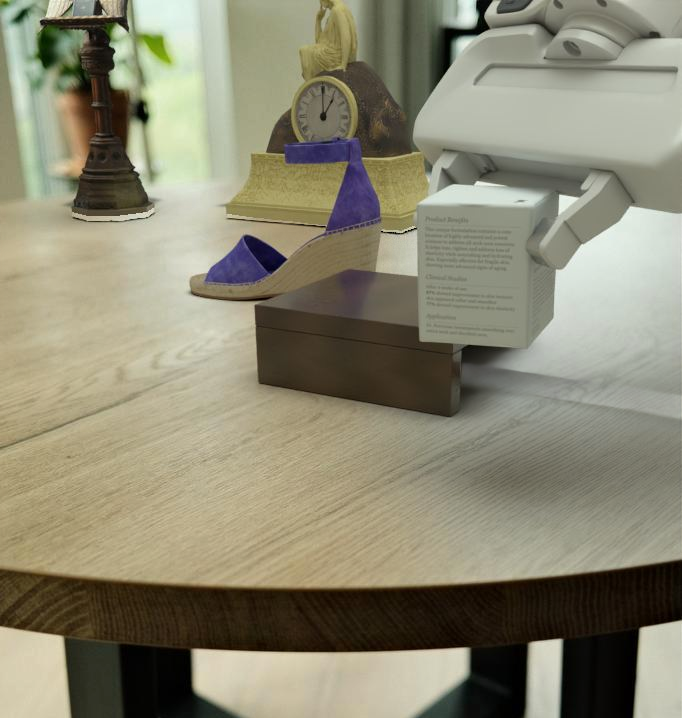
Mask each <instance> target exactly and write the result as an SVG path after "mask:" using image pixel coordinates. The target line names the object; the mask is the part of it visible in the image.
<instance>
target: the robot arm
mask: <svg viewBox="0 0 682 718" xmlns="http://www.w3.org/2000/svg"><path fill="white" fill-rule="evenodd" d="M484 20H485V22H486V24H487V26H488V27H489V29H488V30H485V31H484V32H482V33H480V34H479V35H477V36H476V37H475V38H473V39H472V40H470V42H469V43H468V44H467V45H466V46H465V47H464V48H463V49H462V50H461V52H460V53H459V54H458V56H456V58H455V59H454V60H453V62H452V64H451V65H450V66H449V68H448V69H447V71H446V72H445V74H444V75H443V76H442V78H441V79H440V81H439V82H438V83H437V85H436V86H435V88H434V89H433V91H431V93H430V95H429V97H428V98H427V100H426V101H425V103H424V105H423V106H422V108H421V109H420V111H419V112H418V114H417V116H416V118H415V121H414V125H413V132H412V142H413V144H414V145H415V147H416V148H417V149H418V151H419V152H421V153H422V154H423V155H424V159H426V161H427V162H428V163H429V164H430V165H431V166H432V168H431V174H430V179H429V188H428V193H427V195H428V196H427V197H426V198H428V197H430V196H432V195H434V194H435V193H437V192H439V191H441V190H442V189H444V188H446V187H448V186H450V185H453V184H458V185H476V183H477V182H478V183H479V182H480V183H486V184H491V185H496V186H515V187H550V188H556V189H557V190H556V191H557V192H558V194H559V196H565V197H572V198H577V199H576V200H575V201H574V202H573V203H572V204H570V205H569V206H568V207H567V208H565V210H564V211H562V212H561V213H560V214H558V216H557V217H556V218H555V219H550V218H543V219H542V220H541V222H540V223H539V224H538V226H537V227H536V229H535V233H534V234H532V235H531V236H530V237H529V238H528V240H527V242H526V251H527V252H528V254H529V255H530V256H532V257H533V258H534V261H535V262H536V264H539V265H542V266H546V267H549V268H553V269H556V271H561V270H564V269H565V268H566V266H568V264H569V263H570V261H571V260H572V258H573V257H574V255H575V254H576V253H577V251H578V250H579V249H580V247H581V246H582V245H585V244H587V243H588V242H590V241H591V240H593V239H595V238H596V237H598V236H599V235H600V234H602V233H604V232H605V231H607V230H609V229H610V228H611V227H613V226H615V225H616V224H618V223H619V222H620V221H621V220H622V218H623V217H624V216H625V214H627V211H628V210H629V209H630V207H633V208H640V209H643V210H644V209H646V210H651V211H657V212H663V213H669V214H675V215H676V214H677V215H681V214H682V0H492V2H491V3H490V4H489V6H488V7H487V9H486V11H485V12H484ZM413 224H414V226H415V227H416V228H417V212H416V213H415V214H414V217H413Z"/></svg>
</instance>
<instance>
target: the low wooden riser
mask: <svg viewBox="0 0 682 718" xmlns="http://www.w3.org/2000/svg"><path fill="white" fill-rule="evenodd" d="M253 305H254V307H253V309H254V324H255V346H256V348H255V349H256V367H257V382H258V383H259V384H265V385H270V386H276V387H281V388H286V389H293V390H297V391H298V390H299V391H304V392H308V393H309V392H310V393H313V394H314V393H315V394H320V395H326V396H333V397H337V398H343V399H349V400H354V401H359V402H365V403H366V402H367V403H372V404H377V405H383V406H388V407H394V408H400V409H404V410H410V411H416V412H423V413H428V414H432V415H438V416H445V417H452V416H453V415H454V414H456V413H457V412H458V411H460V404H461V403H460V401H461V379H462V378H461V375H462V349H464V348H465V347H467V346H469V344H455V343H440V342H421V341H420V340H419V313H418V275H407V274H398V273H390V272H380V271H375V272H372V271H363V270H354V269H348V270H345V271H343V272H340V273H337V274H335V275H332V276H329V277H327V278H324V279H321V280H319V281H316V282H313V283H311V284H308V285H306V286H303V287H300V288H298V289H295V290H292V291H290V292H287V293H284V294H282V295H279V296H274V297H270V298H268V299H266V300H263V301H260V302H258V303H255V304H253Z"/></svg>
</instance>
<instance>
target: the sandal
mask: <svg viewBox="0 0 682 718" xmlns="http://www.w3.org/2000/svg"><path fill="white" fill-rule="evenodd" d="M324 141H327V142H324ZM284 153H285V162H286V164H335V163H336V162H348V165H347V168H346V171H345V175H344V178H343V181H342V184H341V187H340V190H339V193H338V195H337V198H336V201H335V204H334V207H333V210H332V213H331V216H330V218H329V221H328V224H327V227H325V230H324V231H323V233H322V234H318V235H317V236H315V237H313V238H312V239H310V240H308V241H307V242H305V243H304V244H303V245H302V246H300V247H299V248H298V249H296V250H295V251H294V252H293V253H292V254H291V255H290V256H289V257H286V256H284V255H283V254H282V253H281V252H280V251H278V250H277V249H276V248H274V247H273V246H272V245H270V244H269V243H267V242H266V241H264V240H262V239H260V238H258V237H256V236H254V235H251V234H248V233H246V234H242V236H241V237H240V239H239V240H238V242H237V243H236V245H235V246H234V247H233V248H232V249H231V250H230V251H229V252H228V253H227V254H225V255H224V256H223V257H222V258H221V259H220V260H219V261H218V262H216V263H214V264H213V265H212V266H211V267H210V268H209V270H208V271H207V272H204V273H199V274H195V275H192V276H191V277H190V278H189V281H188V282H189V283H188V284H189V288H190V293H192V295H195V296H199V297H205V298H209V299H216V300H217V299H218V300H231V301H234V300H235V301H240V300H241V301H242V300H245V301H246V300H255V299H262V298H274V297H276V296H279V295H282V294H284V293H287V292H290V291H292V290H295V289H298V288H300V287H303V286H306V285H308V284H311V283H313V282H316V281H319V280H321V279H324V278H327V277H329V276H332V275H335V274H337V273H340V272H343V271H345V270H348V269H354V270H363V271H372V272H377V271H376V270H377V262H378V256H379V250H380V242H381V235H382V232H381V230H382V219H381V216H380V204H379V200H378V196H377V194H376V192H375V190H374V188H373V186H372V184H371V182H370V179H369V177H368V174H367V172H366V169H365V167H364V164H363V161H362V152H361V146H360V142H359V139H358V138H353V139H343V140H341V138H340V137H331V138H313V139H312V140H311V142H300V143H290V144H285V145H284Z"/></svg>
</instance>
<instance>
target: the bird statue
mask: <svg viewBox="0 0 682 718" xmlns="http://www.w3.org/2000/svg"><path fill="white" fill-rule="evenodd" d="M128 4H129V0H49V1H48V6H47V10H46V15H45V16H42V17H40V18H39V24H40V28H39V30H38V32H37V36H40V33H41V32H43V30H45V29H46V28H47V27H48V26H59V27H58V29H59V31H60V32H61V31H63V30H69V31H73V30H74V31H80V30H81V31H84V33H83V37H82V47H80V48H78V50H77V53H78V54H79V55H80V58H81V66H82V67H81V68H82V69H83V70H85V71H87V72H88V73H89V75H88V76H89V78H90V81H91V92H92V100H93V102H92V104H91V107H92V108H93V110H94V122H95V128H96V130H95V131H96V132H95V133H94V135H95V136H92V138H90V141H89V142H88V143H89V147H90V148H89V151H88V154H87V157H86V160H85V164H84V167H82V168H81V173H80V174H79V176H78V179H79V181H78V184H77V191H76V195H75V198H74V199H73V201H72V202H73V205H72V206H71V207H70V208H71V213H72V212H74V213H78V214H82V215H86V216H120V215H128V214H136V213H143V212H148V211H149V210H151V209H152V208H154V207H155V208H156V204H155V202H154V201H150V200H149V195H148V193H147V192H146V191H145V186H143V182H142V179H140V175H141V173H140V172H138V171H136V170H135V169H136V166H135V165H133V163H132V162H131V160H130V157H129V156H128V154H127V151H126V150H125V148H124V146H123V140H122V139H121V138H120V137H119V136H116V133H115V132H114V131H113V128H112V126H113V124H112V122H113V121H112V117H113V114H112V109H113V108H114V106H115V105H114V104H113V103H112V102H111V94H112V93H111V91H110V88H109V86H110V85H109V78H110V73H109V72H111V71H114V69H115V67H116V64H115V60H114V55H115V54H116V49H115V48H114V47H112V46H110V43H111V38H110V36H109V34H107V32H106V31H107V30H108V24H109V25H110V24H112V25H115V23H116V24H118V26H120V27H121V28H122V29H124V30H125V31H126V32H127V34H129V33H130V26H129V21H128V13H127V12H128ZM71 8H72V9H71ZM70 10H71V12H70V14H69V15H68V16H64V15H65V14H66V13H67V12H69V11H70ZM103 12H104V13H105V14H106V15H105V14H104V13H103Z"/></svg>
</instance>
